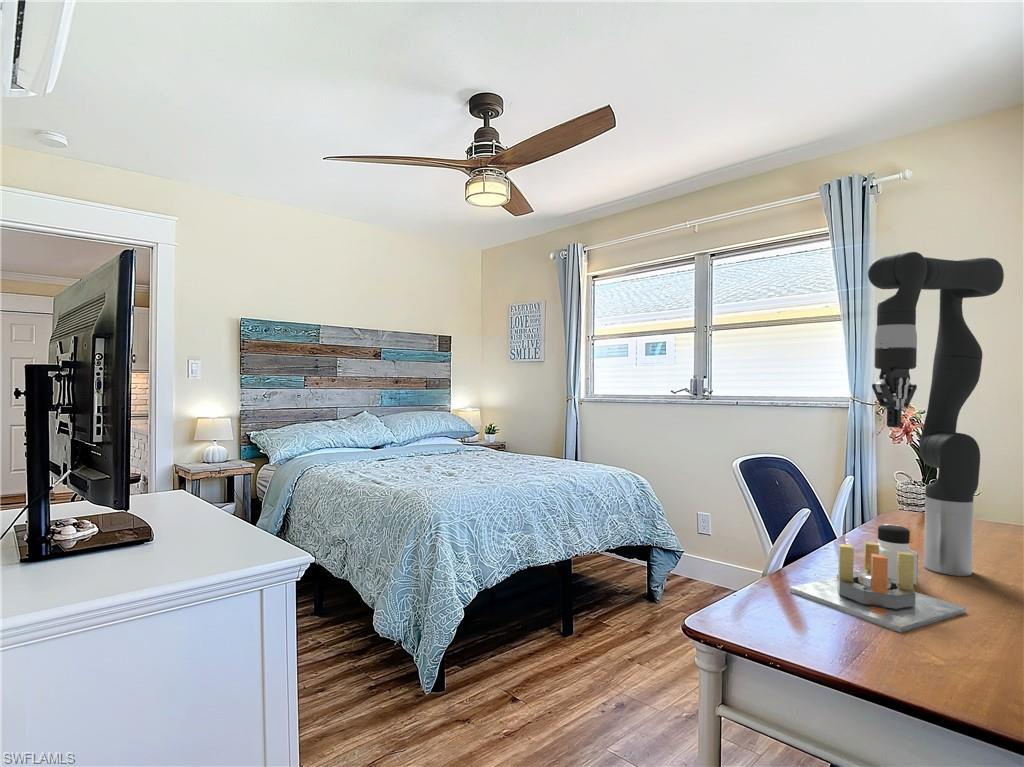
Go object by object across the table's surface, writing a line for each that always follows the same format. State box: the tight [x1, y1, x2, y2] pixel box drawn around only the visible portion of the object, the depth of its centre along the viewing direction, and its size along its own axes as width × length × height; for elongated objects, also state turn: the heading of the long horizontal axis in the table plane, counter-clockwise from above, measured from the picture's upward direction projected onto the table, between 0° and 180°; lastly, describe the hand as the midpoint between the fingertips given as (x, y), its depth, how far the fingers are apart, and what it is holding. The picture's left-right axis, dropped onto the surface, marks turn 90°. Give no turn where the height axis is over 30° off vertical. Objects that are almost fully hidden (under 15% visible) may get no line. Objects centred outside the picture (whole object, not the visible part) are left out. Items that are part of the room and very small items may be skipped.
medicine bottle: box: [877, 524, 919, 586], centre depth 131 cm, size 7×7×12 cm
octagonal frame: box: [836, 541, 916, 609], centre depth 116 cm, size 13×13×9 cm
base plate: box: [789, 572, 967, 634], centre depth 116 cm, size 22×22×5 cm
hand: (893, 427), depth 124 cm, fingers closed
